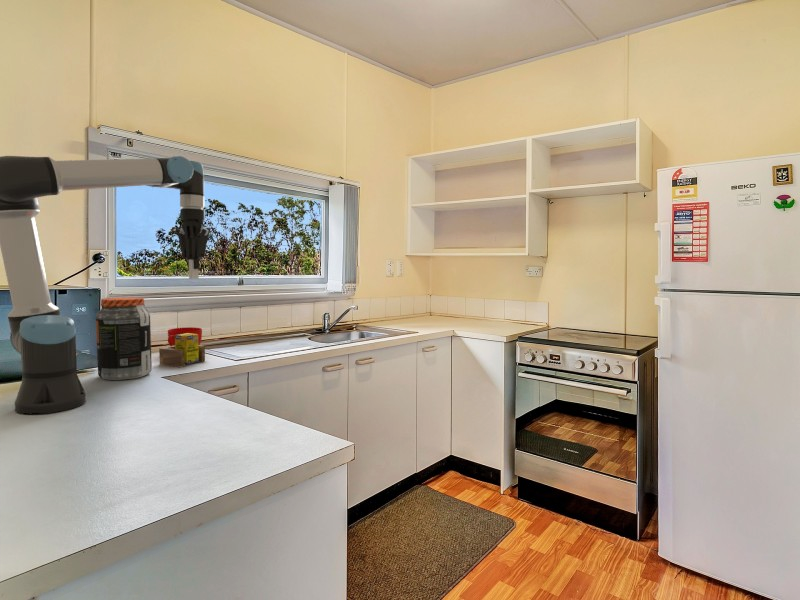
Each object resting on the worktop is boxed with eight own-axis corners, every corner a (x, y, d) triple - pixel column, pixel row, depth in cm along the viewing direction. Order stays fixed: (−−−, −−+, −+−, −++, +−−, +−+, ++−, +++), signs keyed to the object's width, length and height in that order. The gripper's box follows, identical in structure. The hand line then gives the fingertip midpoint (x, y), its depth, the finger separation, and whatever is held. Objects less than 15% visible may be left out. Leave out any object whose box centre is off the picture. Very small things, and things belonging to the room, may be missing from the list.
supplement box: (187, 365, 179) (186, 335, 178) (174, 363, 181) (174, 334, 180) (199, 362, 184) (198, 333, 183) (187, 360, 186) (186, 332, 186)
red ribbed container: (154, 357, 192) (153, 332, 191) (181, 349, 208) (180, 326, 208) (184, 359, 190) (183, 333, 189) (208, 351, 206) (208, 328, 205)
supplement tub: (162, 372, 166) (160, 297, 164) (122, 383, 152) (119, 301, 150) (128, 368, 172) (126, 296, 170) (86, 378, 157) (83, 299, 155)
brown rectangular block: (181, 367, 176) (181, 350, 175) (159, 364, 179) (159, 348, 179) (205, 361, 186) (204, 345, 186) (184, 358, 190) (183, 343, 190)
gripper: (215, 209, 164) (216, 279, 166) (186, 210, 169) (187, 278, 171) (199, 207, 157) (200, 279, 159) (168, 208, 162) (170, 278, 164)
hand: (193, 278), depth 165 cm, fingers closed
